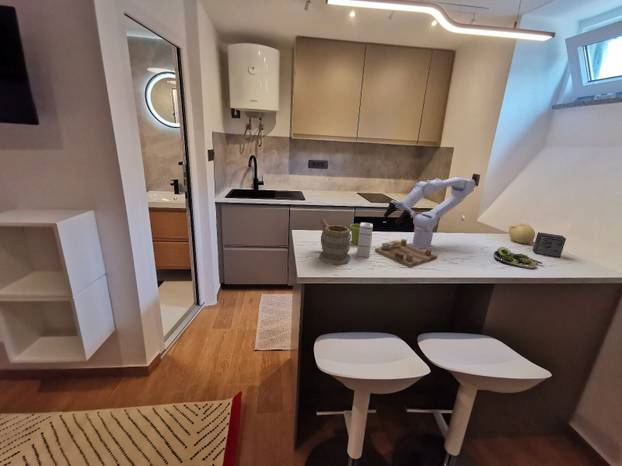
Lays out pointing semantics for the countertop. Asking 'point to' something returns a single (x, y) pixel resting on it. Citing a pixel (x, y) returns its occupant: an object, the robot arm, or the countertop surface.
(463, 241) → the countertop surface
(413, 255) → the brown wooden flat board
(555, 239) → the small box
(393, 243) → the long beige beam
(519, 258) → the salad plate
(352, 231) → the plant pot
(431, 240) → the robot arm
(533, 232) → the pale yellow rounded lump
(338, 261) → the tankard
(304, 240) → the countertop surface
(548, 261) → the countertop surface
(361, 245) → the syrup box
